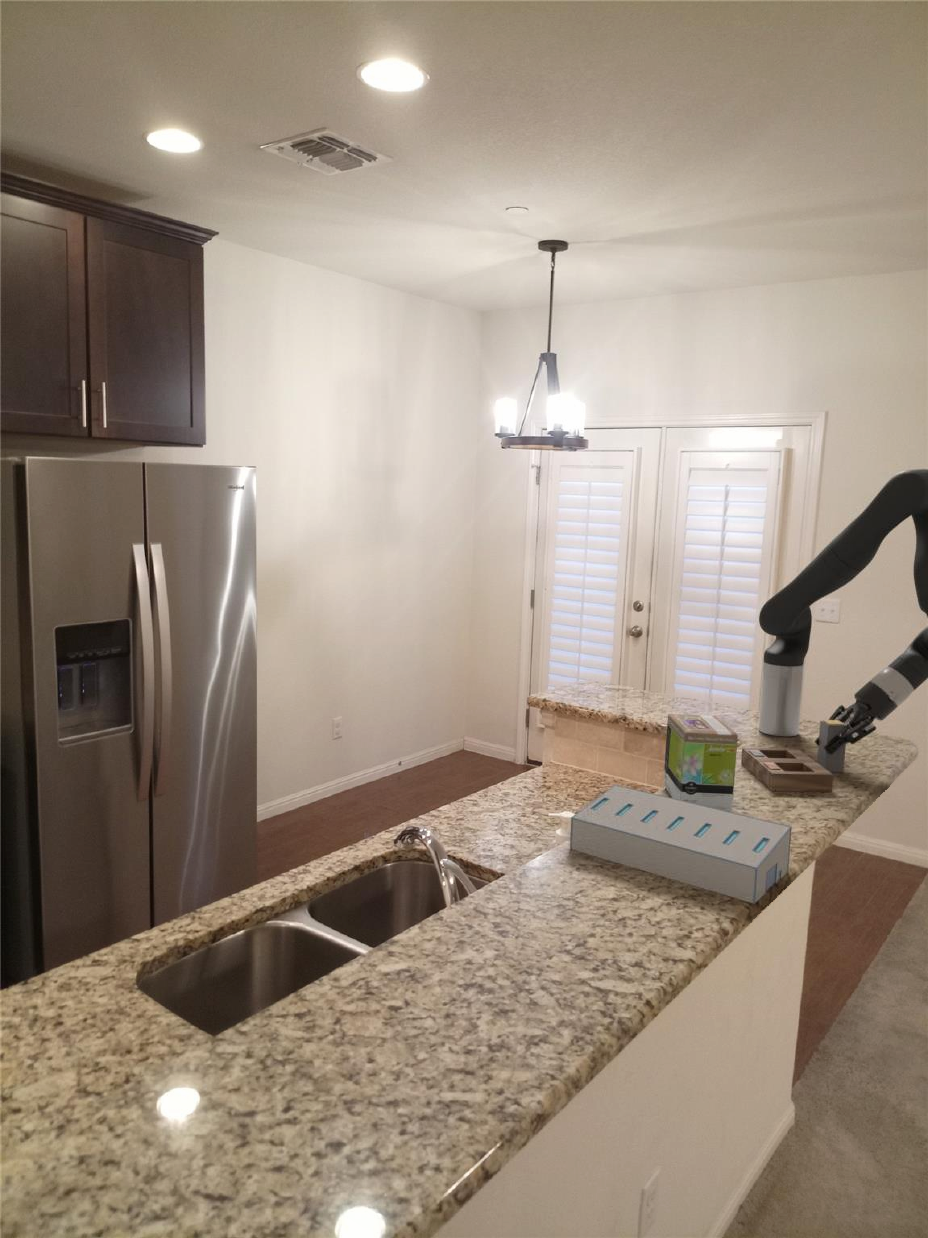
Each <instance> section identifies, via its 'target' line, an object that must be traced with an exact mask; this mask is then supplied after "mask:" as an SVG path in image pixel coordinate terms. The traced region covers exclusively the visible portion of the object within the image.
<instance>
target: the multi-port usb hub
mask: <svg viewBox="0 0 928 1238" xmlns="http://www.w3.org/2000/svg"><path fill="white" fill-rule="evenodd" d="M792 827H793V826H792V825H791V826H790V825H788V824H787V825H786V824H783V823H778V822H774V821H771V820H766V819H762V818H758V817H753V816H749V815H745V814H742V813H737V812H733V811H731V812H729V811H725V810H721V809H716V808H712V807H708V806H704V805H700V804H695V803H691V802H687V801H683V800H679V799H674V798H672V797H670V796H666V795H662V794H657V793H653V792H648V791H645V790H640V789H636V788H632V787H627V786H623V785H620V784H613V785H612V786H611V787H610V788H608V789H607V790H605V791H604V792H603V793H602V794H601V795H599V796H598V797H597V798H595V799H593V800H592V801H591V802H589V803H588V804H587V805H586V806H584V808H581V809H580V810H579V811H578V812H576V813H575V814H574V815H573V816H571V817H570V836H569V837H570V839H569V850H573V851H576V852H580V853H583V854H586V855H589V856H593V857H596V858H600V859H603V860H606V861H610V862H613V863H617V864H620V865H623V866H626V867H629V868H630V867H631V868H634V869H637V870H640V871H643V872H647V873H651V874H653V875H657V876H660V877H663V878H667V879H671V880H673V881H677V882H681V883H683V884H687V885H690V886H695V887H697V888H701V889H703V890H707V891H710V892H713V893H718V894H721V895H724V896H728V897H729V898H730V897H731V898H734V899H737V900H741V901H743V902H748V903H751V904H753V905H755V904H757V902H758V901H759V900H760V899H761V898H762V897H763V896H764V895H765V894H766V893H767V891H768V890H769V889H770V888H771V887H772V886H773V885H774V884H777V883H778V881H780V879H782V878H783V877H784V876H785V875H787V873H788V872H789V867H790V856H791V855H790V853H791V852H790V851H791V840H792V837H791V836H792Z"/></svg>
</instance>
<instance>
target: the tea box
mask: <svg viewBox="0 0 928 1238" xmlns="http://www.w3.org/2000/svg"><path fill="white" fill-rule="evenodd" d="M738 736H739V735H738V734H737V732H736V731H735V730H734V729H732V728H731V727H730V726H729V725H728V724H727V723H725V721H723V720H722V719H720V717H718V716H717V715H710V714H709V715H705V714H704V715H703V714H701V715H700V714H699V715H698V714H678V713H677V714H676V713H675V714H674V713H673V714H671V713H668V715H667V724H666V738H665V755H664V770H663V787H664V788H665V789H666V790H667V792H668V794H669V795H670V796H671V797H670V798H674V799H679V800H683V801H687V802H691V803H695V804H700V805H704V806H708V807H712V808H716V809H721V810H725V811H729V812H732V810H733V805H734V804H733V801H734V787H735V776H736V763H737V752H738V739H739V737H738Z"/></svg>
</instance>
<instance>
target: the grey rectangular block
mask: <svg viewBox="0 0 928 1238" xmlns="http://www.w3.org/2000/svg"><path fill="white" fill-rule="evenodd" d="M843 724H844V723H842V722H840V721H839V720H829V719H822V720H820V721H819V735H818V737H819V746H818V745H817V761H816V762H817V763H818V764H820V765H821V766H822V767H824V768H825V769H826V770H828V771H829V772H831V773H844V772H845V770H844V769H845V758H846V749H847V748H846V746H847V744H845V743H844V744H843V745H842V746H841V747H840V748H839V749H838V750H837V751H835V752H834V753H833V754H832V755H830V754H829V753H827V751H826V750H825V749H824V746H825V745H826V744H827V743H828V742H829V741H831V740H832V739H833V738H834V737H835V736H838V733H839V732H840V731H841V730H842V729H843V728H844V726H843Z"/></svg>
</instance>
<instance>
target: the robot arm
mask: <svg viewBox="0 0 928 1238" xmlns="http://www.w3.org/2000/svg"><path fill="white" fill-rule="evenodd" d="M910 516H911V518H912V521H913V524H914V529H915V537H916V538H915V541H916V543H915V552H914V553H915V554H914V560H913V570H912V571H913V581H914V586H915V588H914V589H915V593H916V598H917V603H918V607H919V609H920V610H921V611H922V612H923V613H925V614H926V616H927V618H928V469H927V468H919V469H918V468H917V469H905V470H902V471H899V472H897V473H896V474H894V475H893V476H892V477H891V478H890V479H888V481H886V483H885V484H884V485H883V486H882V488H880V490H879V492H878V493H877V495H876V496H875V497H874V498H873V499H872V500H871V501H870V503H869V504H868V505H867V506H866V507H865V509H864V510H863V511H862V512H861V513H860V514H859V515H858V516H857V517H856V518H854V519H853V520H852V521H851V522H850V523H849V524H848V525H847V526H846V527H845V528H844V529H843V530H842V531H841V532H840V533H838V534H837V536H835V538H833V539H832V540H831V541H830V542H829V543H828V544H827V545H826V546H825V547H824V548H823V549H822V551H820V552H819V553H818V554H817V555H816V556H815V558H814V559H813V560H812V561H811V562H810V563H809V564H808V565H806V566H805V568H804V569H802V570H801V572H799V573H798V575H797V576H796V577H794V579H793V580H792V581H790V582H789V583H788V584H786V586H785V587H783V588H782V589H780V590H779V591H778V592H777V593H776V594H775V595H773V596H771V598H769V599H768V600H767V601H766V602H765V603H764V604H763V606H762V607H761V609H760V611H759V615H758V620H759V621H758V623H759V626H760V629H761V630H762V631H763V632H764V633H766V634H767V635H770V636H774V637H775V639H774V641H773V643H772V644H771V645H770V646H769V647H768V648H766V649H765V651H764V653H763V662H762V663H763V664H762V676H761V677H762V679H761V692H760V693H761V694H760V708H759V720H758V721H759V722H758V731H759V732H760V733H763V734H765V735H770V736H775V737H795V736H798V735H799V731H800V730H799V729H800V719H801V718H800V717H801V716H800V715H801V706H802V705H801V704H802V691H803V680H804V679H803V678H804V663H805V658H806V656H807V654H808V651H809V647H810V640H811V634H812V633H811V632H812V623H813V617H812V615H813V614H812V609H811V606H812V605H813V604H815V603H816V602H818V601H819V600H821V599H822V598H824V597H827V596H829V595H831V594H832V593H834V592H836V591H838V590H840V589H842V588H843V587H844V586H846V585H848V584H849V583H850V582H852V581H853V580H854V579H855V578H856V577H857V576H858V575H859V574H860V573H861V572H863V570H865V569H866V567H868V566H869V564H870V563H871V562H872V561H873V559H874V558H875V557H876V555H877V553H878V551H879V549H880V546H881V545H882V543H883V541H884V540H885V538H886V537H887V536H888V534H890V533H891V532H892V531H893V530H894V529H895V528H897V527H898V526H899V525H900V524H902V523H903V522H904V521H906V519H908V518H909V517H910ZM926 680H928V626H926V627H924V629H922V630H921V631H920V632H919V633H918V634H917V635H916V636H915V638H914V639H912V641H911V643H910V644H909V645H908V646H907V647H906V649H905V650H904V652H903V653H901V654H900V655H898V656H897V657H896V659H894V660H893V661H892V662H890V663H889V665H887V666H886V667H885V668H884V669H882V670H881V671H879V672H878V673H877V674H875V675H874V676H873V677H872V678H871V679H870V680H869V681H868V682H867V683H866V684H864V685H863V686H862V687H861V688H860V689H859V690H858V691H856V692H855V694H854V699H855V702H854V703H853V704H851V705H850V706H848V707H845V706H844V705H843V704H841V705H839V706H838V707H837V708H836V710H835V711H834V712H833V714H831V716H830V717H829V718H828V720H839V721H840V722H842V723H844V724H843V726H844V728H843V729H842V730H841V731H840V732H839V733H838V736H835V737H834V738H833V739H832V740H831V741H829V742H828V743H827V744H826V745H825V746H824V749H825V750H826V751H827V753H829V754H830V755H832V754H833V753H834V752H835V751H837V750H838V749H839V748H840V747H841V746H842V745H843V744H844V743H845V744H846V745H848V744H849V743H850V744H851V745H854V744H856V743H858V742H859V741H861V740H862V739H864V738H865V737H867V736H869V735H870V734H872V733H873V732H875V731H876V730H877V727H876V726H875V724H874V723H873V722H874V721H875V719H876V720H878V721H881V722H882V721H883V720H884V719H886V718H887V717H888V716H889V715H890V714H891V713H893V711H895V710H896V709H897V708H898V707H899V706H900V705H902V704H903V702H905V701H906V700H907V699H908V698H909V697H910V696H911V695H912V694H913V692H915V690H917V689H918V688H919V687H920V686H921V685H922V684H923V683H924V682H926ZM814 743H815V744H816V745H817V747H818V746H819V736H818V737H817V738H816V739H815V740H814Z"/></svg>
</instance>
